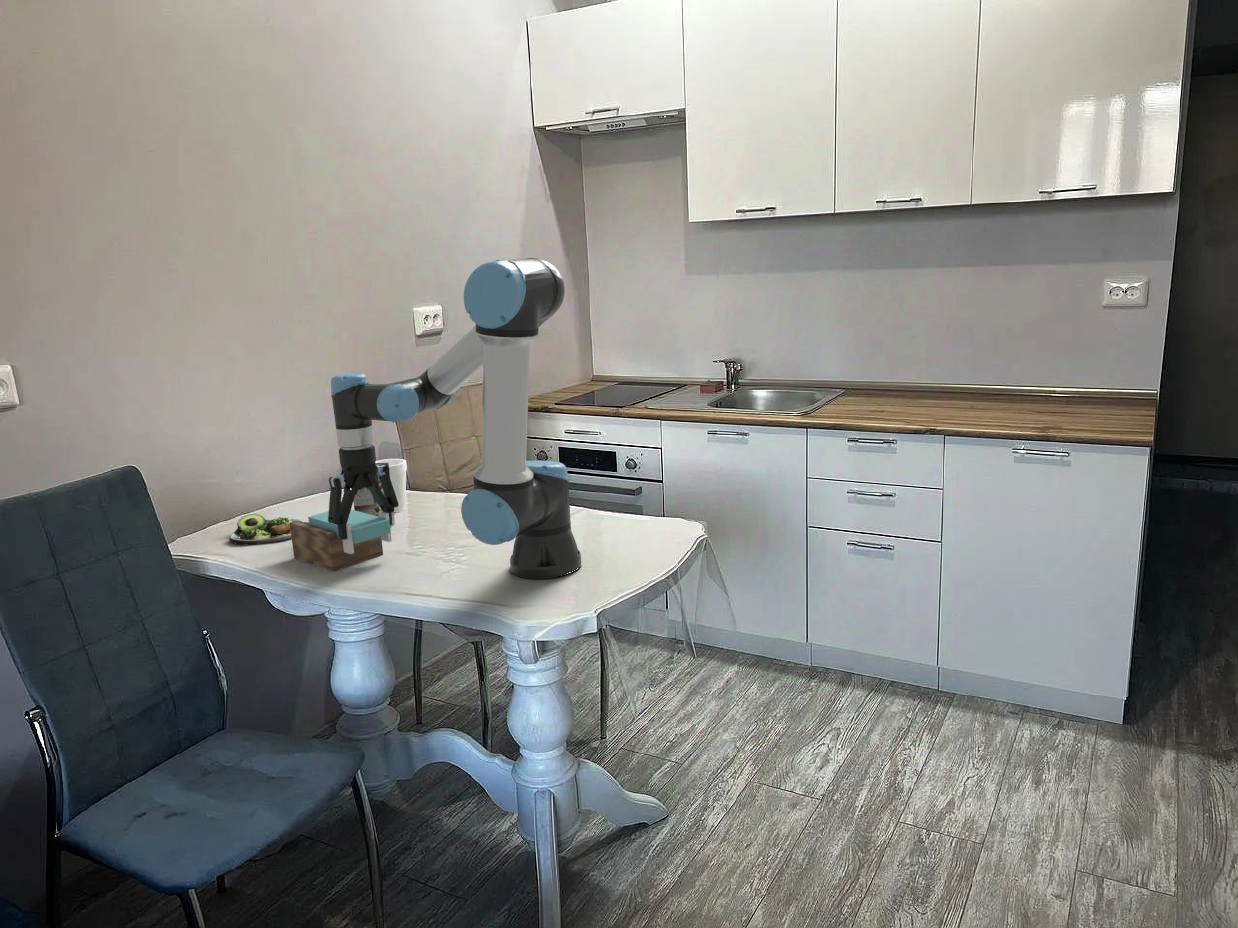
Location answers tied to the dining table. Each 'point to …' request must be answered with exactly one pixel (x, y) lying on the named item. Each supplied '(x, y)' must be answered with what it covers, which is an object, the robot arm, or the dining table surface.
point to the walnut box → (329, 547)
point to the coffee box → (369, 499)
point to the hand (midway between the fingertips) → (368, 546)
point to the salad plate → (261, 529)
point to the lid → (355, 525)
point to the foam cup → (397, 480)
